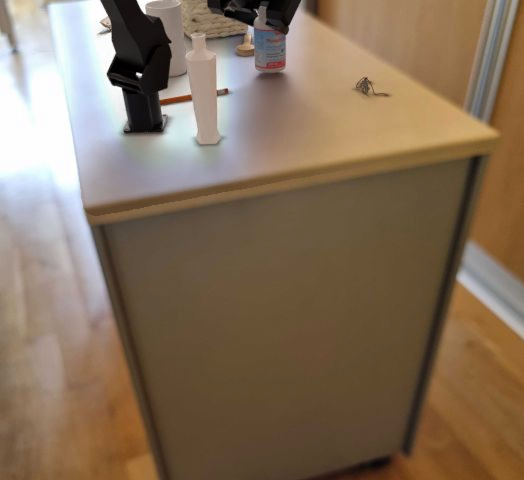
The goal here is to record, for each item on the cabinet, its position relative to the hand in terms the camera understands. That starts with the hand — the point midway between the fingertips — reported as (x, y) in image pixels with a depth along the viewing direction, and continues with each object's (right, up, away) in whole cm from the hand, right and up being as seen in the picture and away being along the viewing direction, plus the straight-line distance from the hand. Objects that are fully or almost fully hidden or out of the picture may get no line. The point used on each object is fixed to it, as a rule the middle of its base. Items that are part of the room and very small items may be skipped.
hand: (274, 29), depth 108 cm
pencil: (-17, -16, -5) cm, 24 cm away
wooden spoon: (-6, +6, +18) cm, 20 cm away
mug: (-21, -4, +8) cm, 23 cm away
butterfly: (-39, +21, +35) cm, 57 cm away
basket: (-15, +18, +31) cm, 39 cm away
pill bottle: (-1, -6, +4) cm, 7 cm away
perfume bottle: (-11, -27, -17) cm, 34 cm away
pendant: (+17, -14, -4) cm, 22 cm away
